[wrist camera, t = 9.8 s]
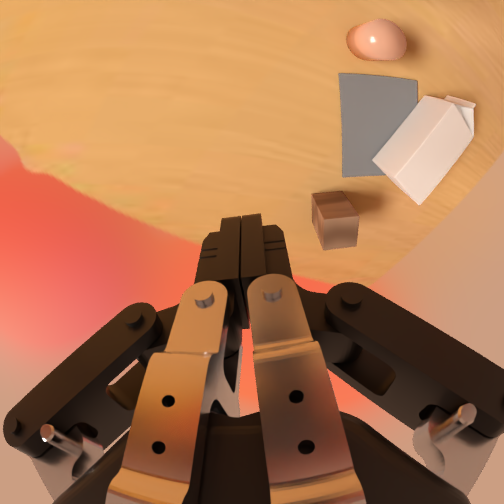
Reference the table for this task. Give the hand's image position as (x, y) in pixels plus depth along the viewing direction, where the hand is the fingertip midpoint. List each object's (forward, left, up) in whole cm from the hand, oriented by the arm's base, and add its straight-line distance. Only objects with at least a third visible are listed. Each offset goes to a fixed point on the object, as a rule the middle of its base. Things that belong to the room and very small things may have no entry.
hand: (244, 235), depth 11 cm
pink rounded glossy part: (-11, +18, -29) cm, 36 cm away
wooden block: (+15, +11, -29) cm, 35 cm away
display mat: (+2, +20, -29) cm, 35 cm away
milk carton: (+10, +21, -25) cm, 34 cm away
